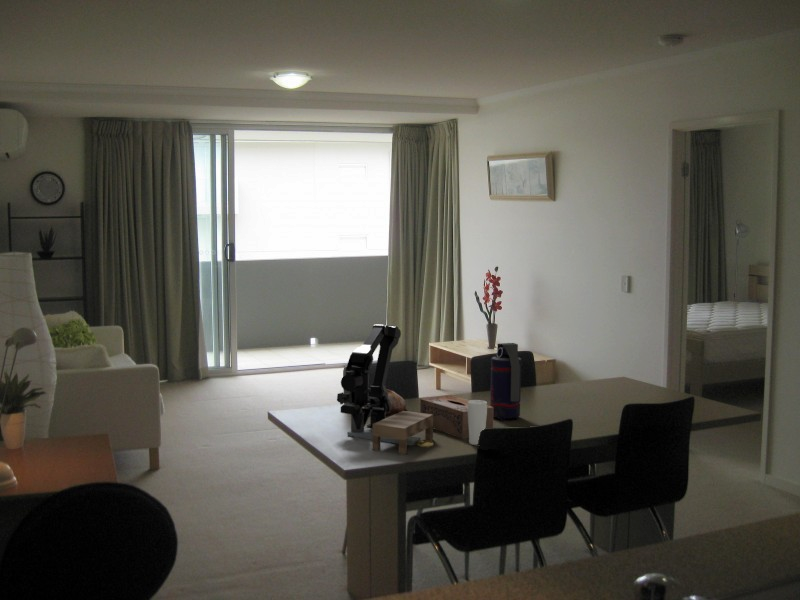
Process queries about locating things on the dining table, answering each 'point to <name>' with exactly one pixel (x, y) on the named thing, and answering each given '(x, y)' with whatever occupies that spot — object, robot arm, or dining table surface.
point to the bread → (395, 403)
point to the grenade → (506, 382)
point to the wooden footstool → (402, 428)
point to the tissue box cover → (451, 414)
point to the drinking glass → (476, 419)
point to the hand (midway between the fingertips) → (360, 428)
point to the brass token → (424, 443)
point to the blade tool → (369, 434)
